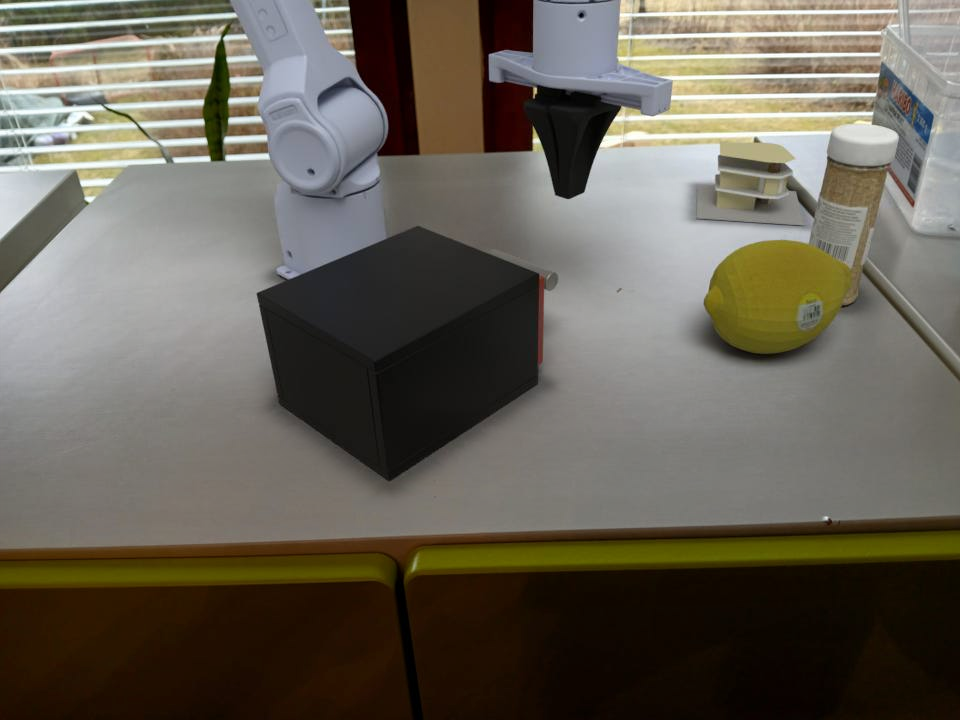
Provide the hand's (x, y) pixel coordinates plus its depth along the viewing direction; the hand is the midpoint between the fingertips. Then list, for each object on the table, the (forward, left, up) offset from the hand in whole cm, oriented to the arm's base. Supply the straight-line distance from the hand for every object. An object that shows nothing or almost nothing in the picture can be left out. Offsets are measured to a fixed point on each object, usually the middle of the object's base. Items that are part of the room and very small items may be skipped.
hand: (569, 193), depth 59 cm
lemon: (+15, +5, -10) cm, 18 cm away
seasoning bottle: (+15, +15, -10) cm, 23 cm away
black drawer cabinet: (0, -17, -9) cm, 19 cm away
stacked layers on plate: (+1, +28, -10) cm, 30 cm away
